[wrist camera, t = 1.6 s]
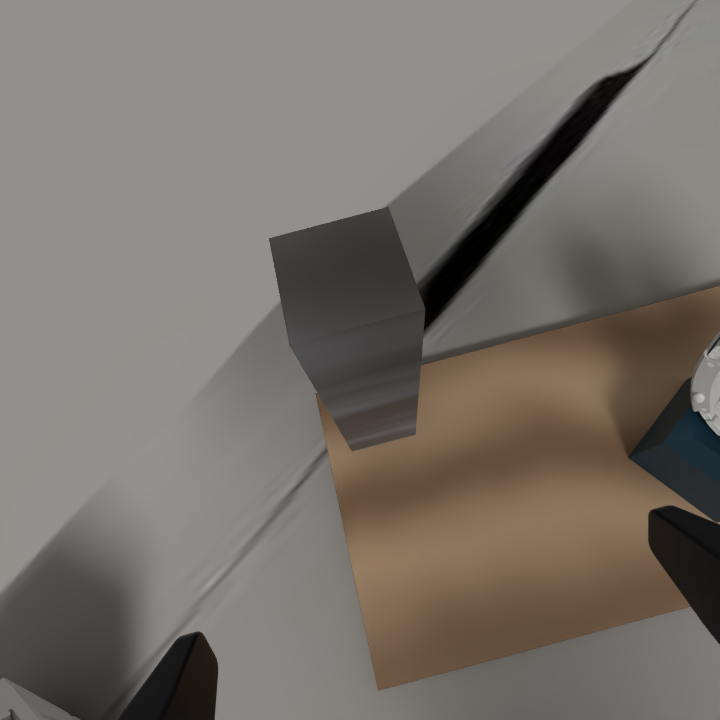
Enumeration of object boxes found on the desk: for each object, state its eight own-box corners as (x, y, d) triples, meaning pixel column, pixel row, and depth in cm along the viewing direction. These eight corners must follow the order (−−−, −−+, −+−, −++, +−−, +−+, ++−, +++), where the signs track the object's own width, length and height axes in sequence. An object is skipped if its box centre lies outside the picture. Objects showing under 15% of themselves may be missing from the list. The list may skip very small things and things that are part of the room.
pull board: (923, 539, 19) (1933, 527, 6) (378, 687, 18) (322, 968, 6) (732, 285, 24) (1061, 22, 12) (317, 396, 24) (225, 242, 12)
